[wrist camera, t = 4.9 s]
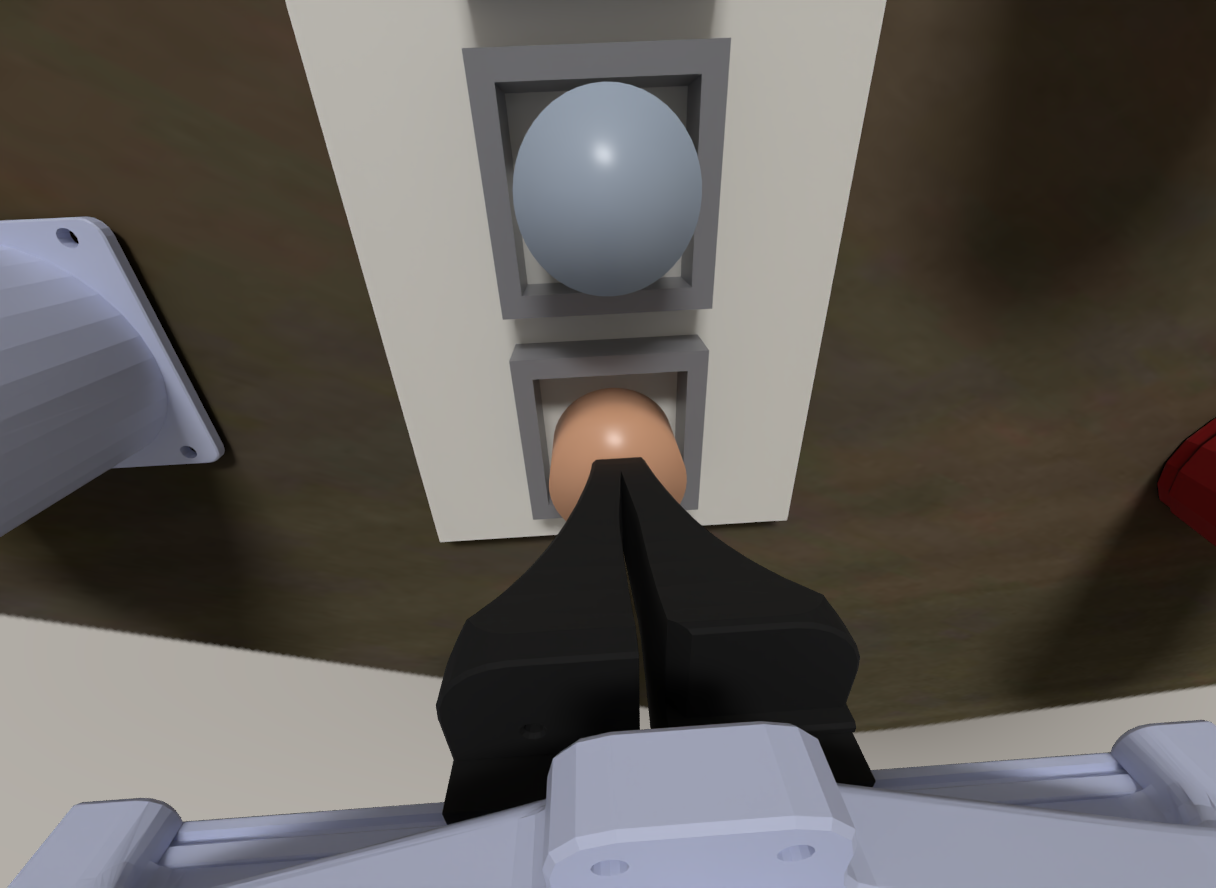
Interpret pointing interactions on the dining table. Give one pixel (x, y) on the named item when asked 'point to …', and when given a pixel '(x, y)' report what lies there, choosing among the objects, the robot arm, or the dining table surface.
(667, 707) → the robot arm
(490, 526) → the console
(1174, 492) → the plastic cup
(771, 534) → the dining table surface
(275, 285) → the dining table surface
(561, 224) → the slate button
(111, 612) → the dining table surface
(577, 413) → the peach button
